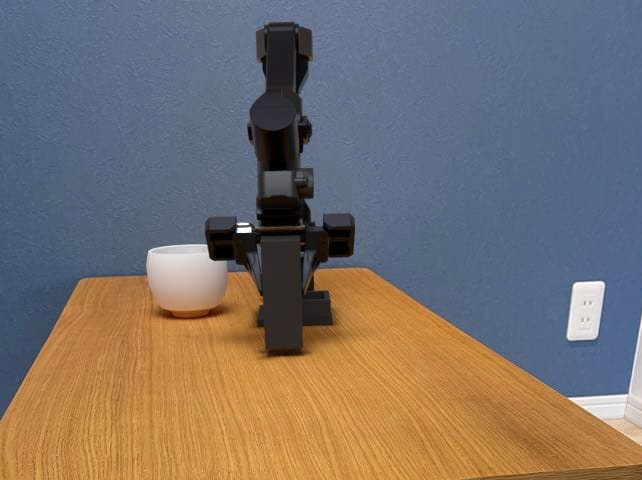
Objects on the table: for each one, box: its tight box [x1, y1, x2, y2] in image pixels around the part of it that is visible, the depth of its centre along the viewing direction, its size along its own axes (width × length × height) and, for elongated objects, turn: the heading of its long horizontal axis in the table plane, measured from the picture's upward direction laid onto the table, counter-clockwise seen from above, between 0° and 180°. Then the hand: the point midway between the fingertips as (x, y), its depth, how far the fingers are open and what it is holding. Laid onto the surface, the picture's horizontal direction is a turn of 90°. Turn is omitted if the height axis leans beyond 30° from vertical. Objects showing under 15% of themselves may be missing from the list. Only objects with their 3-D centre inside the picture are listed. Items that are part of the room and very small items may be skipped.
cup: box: [145, 243, 229, 319], centre depth 132 cm, size 12×12×10 cm
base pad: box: [256, 289, 333, 327], centre depth 129 cm, size 11×11×4 cm
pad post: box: [259, 235, 304, 350], centre depth 107 cm, size 5×5×13 cm
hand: (282, 293), depth 106 cm, fingers closed on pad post, 5 cm apart
